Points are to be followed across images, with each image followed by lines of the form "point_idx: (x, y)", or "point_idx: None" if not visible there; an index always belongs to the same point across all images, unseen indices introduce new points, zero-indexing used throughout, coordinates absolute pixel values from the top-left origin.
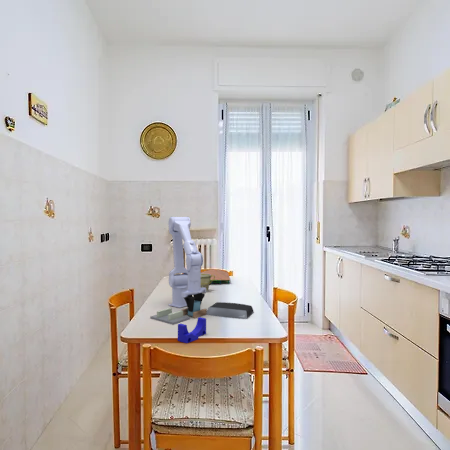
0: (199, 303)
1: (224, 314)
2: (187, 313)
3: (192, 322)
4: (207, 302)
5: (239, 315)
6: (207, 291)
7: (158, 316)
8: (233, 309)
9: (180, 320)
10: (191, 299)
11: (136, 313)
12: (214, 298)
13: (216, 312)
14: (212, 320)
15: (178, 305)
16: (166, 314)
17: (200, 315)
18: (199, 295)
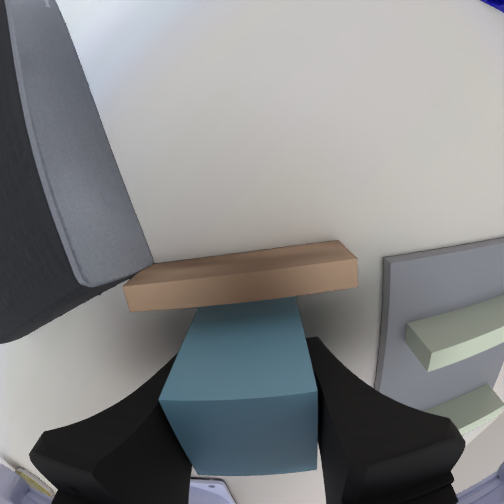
0: (186, 381)
1: (71, 78)
2: None
3: (431, 158)
4: (38, 426)
5: (42, 3)
6: (20, 468)
7: (490, 388)
8: (12, 28)
9: (486, 245)
10: (444, 420)
11: None
12: (5, 425)
13: (86, 155)
14: (243, 58)
15: (214, 495)
16: (436, 410)
17: (242, 255)
18: (133, 491)
